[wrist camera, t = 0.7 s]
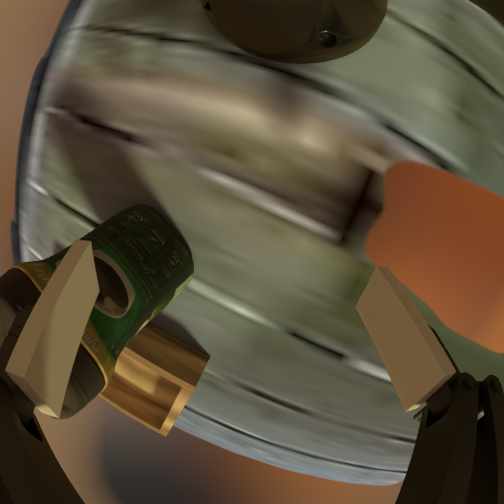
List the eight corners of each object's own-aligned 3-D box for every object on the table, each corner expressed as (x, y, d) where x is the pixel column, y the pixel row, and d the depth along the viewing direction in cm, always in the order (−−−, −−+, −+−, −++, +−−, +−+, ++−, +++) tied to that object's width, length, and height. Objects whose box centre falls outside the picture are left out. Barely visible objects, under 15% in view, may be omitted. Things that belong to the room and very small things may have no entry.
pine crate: (76, 273, 30) (50, 290, 26) (210, 356, 30) (195, 386, 25) (75, 347, 37) (57, 364, 32) (177, 412, 37) (165, 436, 32)
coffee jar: (105, 238, 27) (-32, 326, 10) (145, 189, 24) (-36, 268, 7) (162, 305, 29) (56, 434, 12) (210, 268, 26) (88, 430, 9)
